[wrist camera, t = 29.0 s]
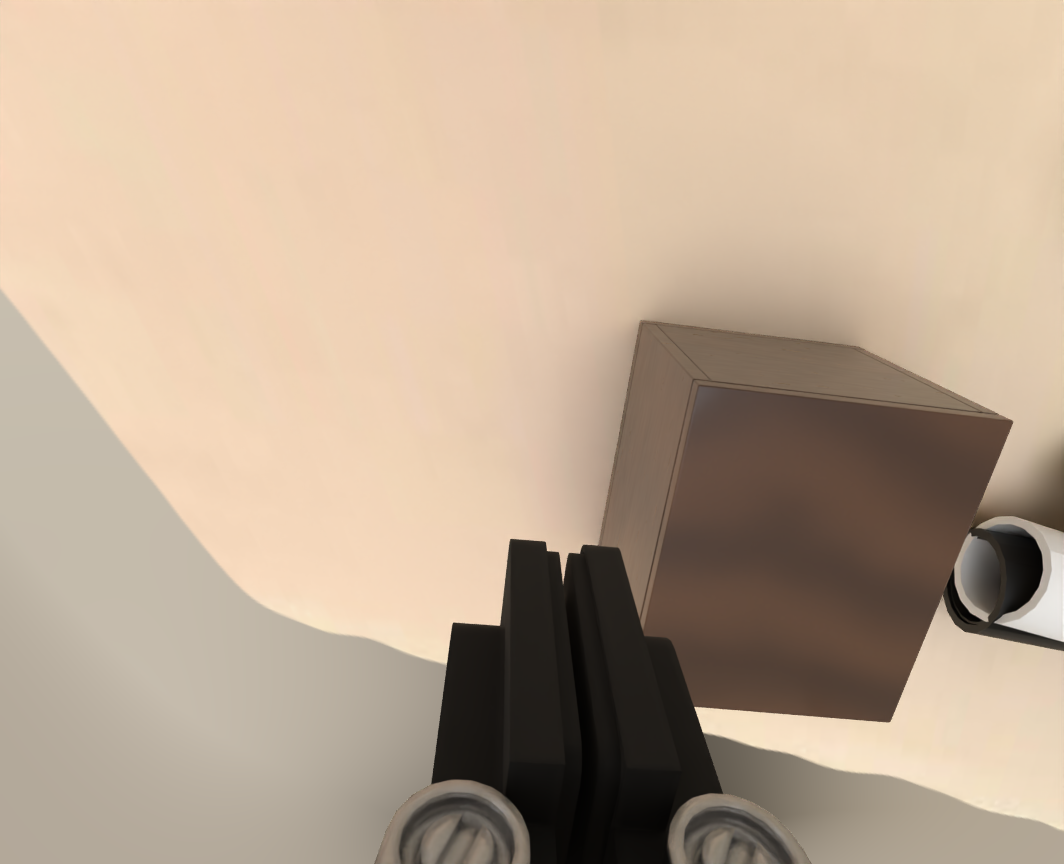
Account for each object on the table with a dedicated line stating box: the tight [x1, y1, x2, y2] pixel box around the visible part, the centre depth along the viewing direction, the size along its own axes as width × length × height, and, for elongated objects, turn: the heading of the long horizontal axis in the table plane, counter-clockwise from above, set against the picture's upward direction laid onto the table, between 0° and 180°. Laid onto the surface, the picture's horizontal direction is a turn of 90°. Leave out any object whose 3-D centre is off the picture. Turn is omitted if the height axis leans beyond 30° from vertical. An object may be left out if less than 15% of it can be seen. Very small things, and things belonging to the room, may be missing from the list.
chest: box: [598, 320, 999, 621], centre depth 36 cm, size 16×14×12 cm
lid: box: [640, 380, 1013, 722], centre depth 30 cm, size 16×14×1 cm
